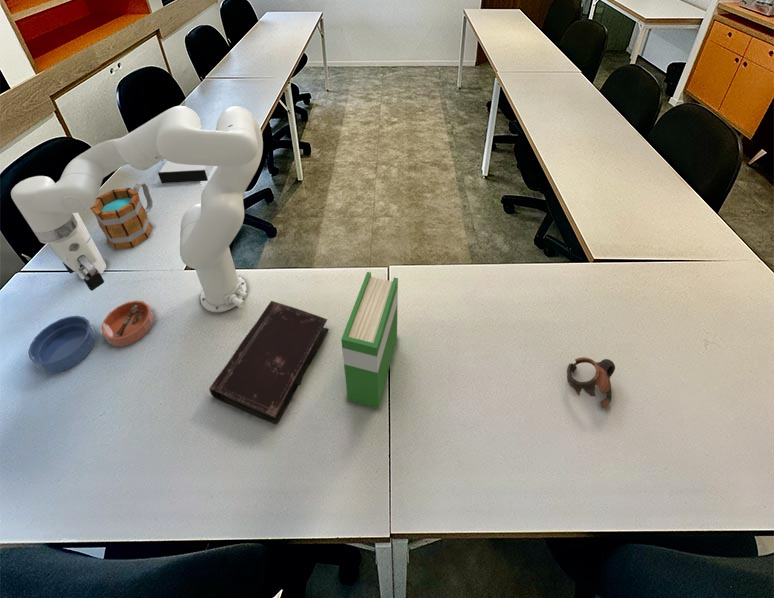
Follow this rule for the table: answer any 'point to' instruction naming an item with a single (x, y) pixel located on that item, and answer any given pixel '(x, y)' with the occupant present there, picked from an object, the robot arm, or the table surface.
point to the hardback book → (370, 340)
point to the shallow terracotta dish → (132, 330)
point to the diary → (271, 362)
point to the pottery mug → (600, 378)
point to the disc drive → (183, 173)
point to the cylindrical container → (85, 234)
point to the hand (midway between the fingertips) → (86, 277)
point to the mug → (124, 216)
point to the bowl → (62, 344)
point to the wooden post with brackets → (127, 320)
